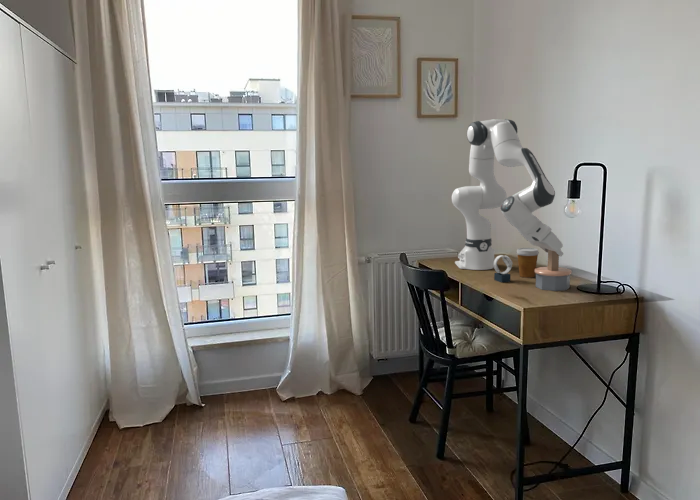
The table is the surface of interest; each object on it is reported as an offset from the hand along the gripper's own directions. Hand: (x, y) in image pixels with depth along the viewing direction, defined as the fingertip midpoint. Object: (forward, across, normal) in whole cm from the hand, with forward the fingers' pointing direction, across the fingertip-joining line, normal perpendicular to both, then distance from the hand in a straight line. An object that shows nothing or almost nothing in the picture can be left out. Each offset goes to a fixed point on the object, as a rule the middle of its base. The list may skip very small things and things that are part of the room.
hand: (554, 253), depth 226 cm
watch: (0, -17, -20) cm, 26 cm away
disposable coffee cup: (+10, -22, -10) cm, 26 cm away
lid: (+5, 0, -6) cm, 8 cm away
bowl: (+9, 0, -10) cm, 14 cm away
